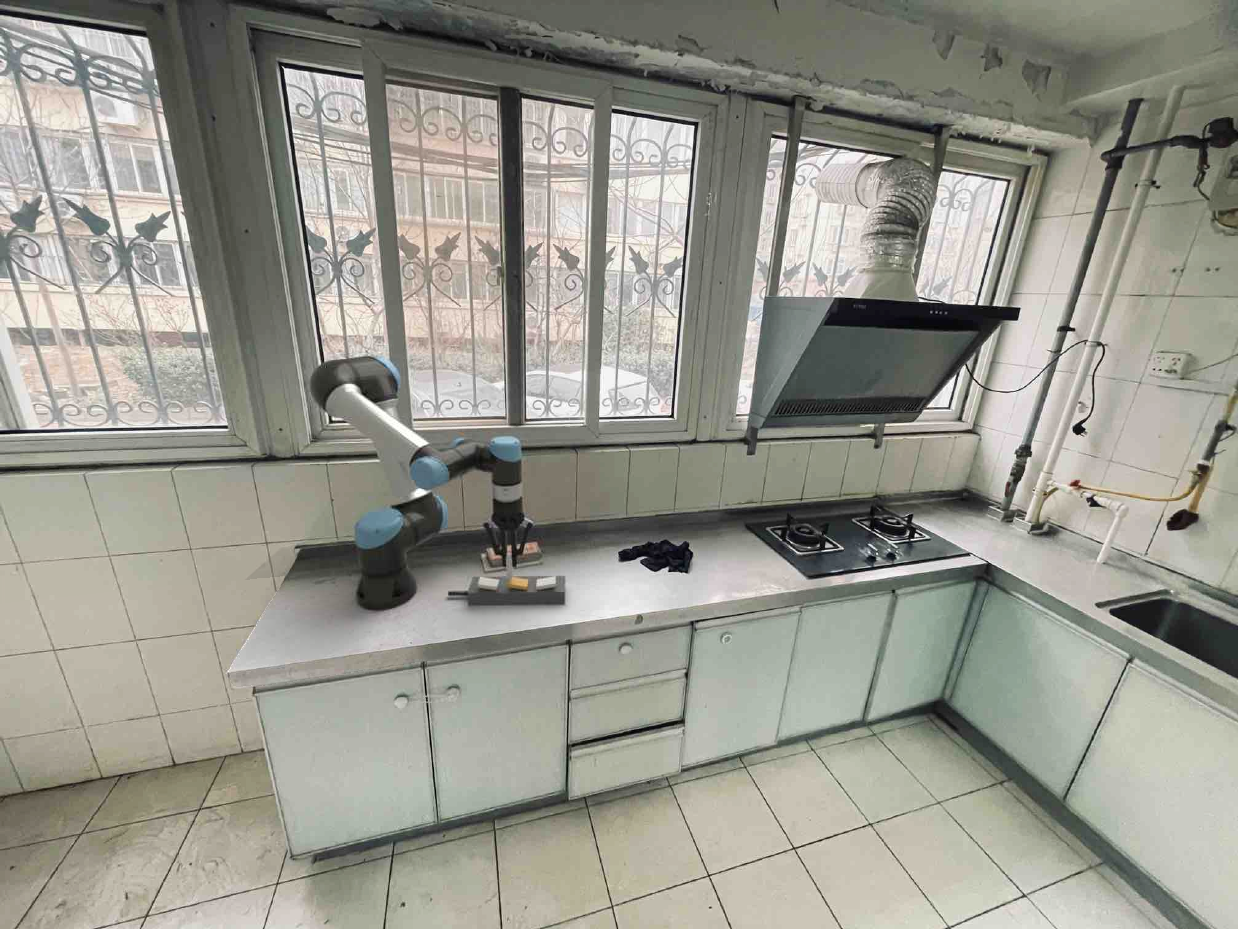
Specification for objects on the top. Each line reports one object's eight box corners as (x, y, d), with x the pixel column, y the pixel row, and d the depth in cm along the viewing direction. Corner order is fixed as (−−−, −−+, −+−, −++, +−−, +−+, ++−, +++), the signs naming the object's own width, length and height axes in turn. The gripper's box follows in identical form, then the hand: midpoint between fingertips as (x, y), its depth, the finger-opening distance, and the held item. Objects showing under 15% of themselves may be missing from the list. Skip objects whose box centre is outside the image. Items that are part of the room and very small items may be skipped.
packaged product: (536, 537, 162) (543, 551, 153) (536, 550, 163) (543, 565, 155) (480, 544, 155) (484, 560, 146) (480, 558, 157) (485, 574, 148)
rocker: (536, 589, 133) (536, 586, 133) (537, 582, 137) (537, 579, 137) (555, 586, 134) (555, 583, 133) (556, 579, 137) (555, 576, 137)
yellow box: (507, 587, 132) (508, 583, 132) (509, 579, 136) (509, 576, 135) (526, 590, 133) (527, 586, 133) (527, 582, 137) (528, 579, 136)
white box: (477, 587, 132) (477, 584, 131) (479, 579, 135) (480, 576, 135) (496, 590, 132) (497, 587, 132) (498, 582, 136) (499, 579, 135)
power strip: (445, 606, 132) (444, 592, 130) (452, 589, 139) (451, 576, 138) (564, 604, 135) (564, 591, 134) (565, 587, 143) (565, 575, 141)
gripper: (478, 502, 121) (483, 584, 129) (532, 502, 123) (533, 583, 130) (484, 491, 128) (488, 569, 136) (534, 491, 130) (535, 569, 138)
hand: (510, 576), depth 133 cm, fingers closed
